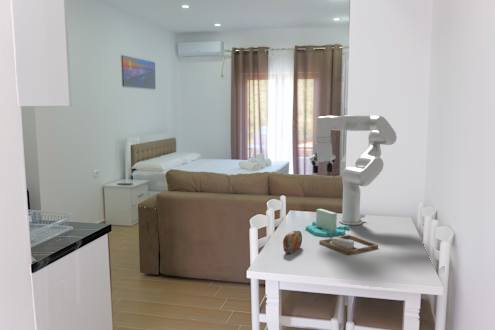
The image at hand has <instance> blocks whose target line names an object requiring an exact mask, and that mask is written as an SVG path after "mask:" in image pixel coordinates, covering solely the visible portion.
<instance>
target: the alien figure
mask: <svg viewBox="0 0 495 330" xmlns="http://www.w3.org/2000/svg"><path fill="white" fill-rule="evenodd" d="M349 230H350V225H346V224H344V225H340V226H337V225H336V230H335V231H330V230H327V229H324V228H321V227H318V226H316V220H315V221H312V225H311V224H310V225H309V224H308V225H307V226H305V231H307V232H308V233H310V234H313V236H317V237H326V238H327V237H339V236H345V234H346V231H349Z"/></svg>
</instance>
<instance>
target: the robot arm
mask: <svg viewBox="0 0 495 330" xmlns="http://www.w3.org/2000/svg"><path fill="white" fill-rule="evenodd" d="M332 131H348V132H350V131H351V132H358V131H359V132H363V131H367V132H368V131H369V134H368V138H367V139H368V147H367V148H366V150H365V151H364V152H363V153H362V154H361V155H360V156H359V157H358V158H357V159H356V161H355V164H354V165H355V166H347V167H345V168H344V169H343V170H342V171H341V172H342V173H341V181H342V209H341V210H342V215H341V218H339V220H338V222H339V223H340V224H343V225H346V226H358V225H362V224H363V220H361V219H364V218H366V214H361V213H360V212H361V211H360V209H361V208H360V207H361V205H360V204H361V188H360V187H368V186H369V185H370V184H372V182H373V181H374V180H375V179H376V178H378V176H379V175H380V174H381V172H382V171H383V169H384V161H383V159H382V158H381V155H382V150H381V149H382V148H381V145H386V146H392V145H393V144H395V143H396V141H397V133H396V131H395V129H394V128H393V127H392V125H391V124H390V123H389V121H388V120H387V119H386V117H384V116H382V115H325V116H317V118H316V136H315V137H316V138H315V139H316V142H314V146H313V151H312V155H311V156H309V161H310V163H311V165H312V173H314V174H319V163H324V162H325V163H326V162H327V164H326V171H327V172H329V173H332V172H333V165H334V162H335V161H336V158H337V156H336V155H335V154H334V153H333V144H332V140H333V139H332Z"/></svg>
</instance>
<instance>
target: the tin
mask: <svg viewBox="0 0 495 330" xmlns="http://www.w3.org/2000/svg"><path fill="white" fill-rule="evenodd" d="M302 243H303V235H302V232H301V231H300V230H292V231H290V232H289V233H288V234H285V236H284V238H283V241H282V245H283V252H284V253H285V254H286V253H287V254H293V253H295V252H296V251H297V250H299V249H301V247H302Z"/></svg>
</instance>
